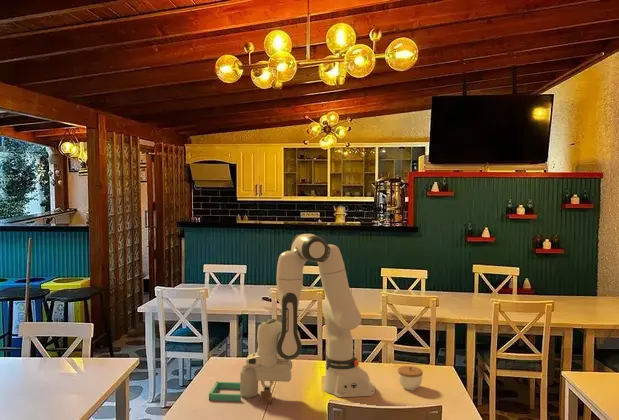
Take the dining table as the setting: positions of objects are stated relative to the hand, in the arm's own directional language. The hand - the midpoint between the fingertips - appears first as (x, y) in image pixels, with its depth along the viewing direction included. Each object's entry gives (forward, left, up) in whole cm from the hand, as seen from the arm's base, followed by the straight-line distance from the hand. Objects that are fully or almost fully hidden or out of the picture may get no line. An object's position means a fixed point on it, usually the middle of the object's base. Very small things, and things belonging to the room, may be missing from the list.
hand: (267, 390), depth 211 cm
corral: (+17, 0, -2) cm, 17 cm away
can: (+8, 0, -2) cm, 8 cm away
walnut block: (0, +6, -2) cm, 7 cm away
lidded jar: (-61, -14, -2) cm, 63 cm away
